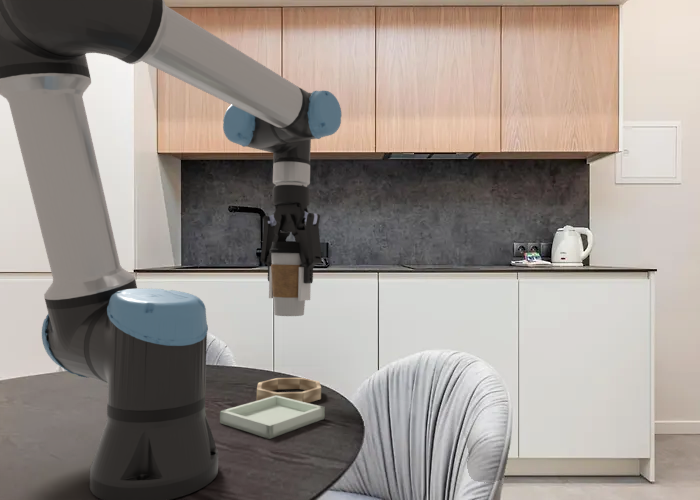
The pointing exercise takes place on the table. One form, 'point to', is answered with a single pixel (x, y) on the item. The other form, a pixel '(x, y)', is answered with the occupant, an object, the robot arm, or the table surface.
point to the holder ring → (307, 396)
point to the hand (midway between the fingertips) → (289, 298)
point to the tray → (272, 416)
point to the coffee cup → (286, 278)
